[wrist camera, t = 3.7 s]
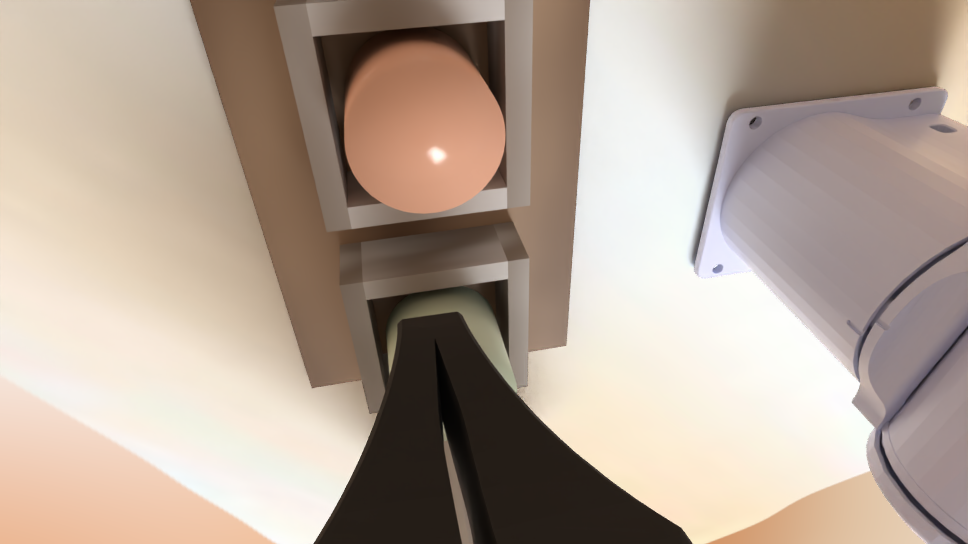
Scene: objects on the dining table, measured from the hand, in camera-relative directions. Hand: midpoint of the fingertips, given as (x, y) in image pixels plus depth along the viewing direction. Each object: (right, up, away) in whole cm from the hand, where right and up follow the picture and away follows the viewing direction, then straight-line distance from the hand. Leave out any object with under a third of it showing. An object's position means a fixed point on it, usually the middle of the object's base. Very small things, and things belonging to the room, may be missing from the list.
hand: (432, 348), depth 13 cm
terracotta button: (-1, +7, +6) cm, 10 cm away
